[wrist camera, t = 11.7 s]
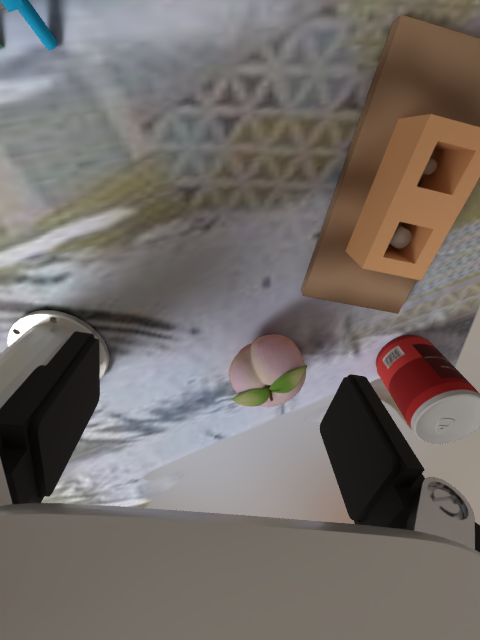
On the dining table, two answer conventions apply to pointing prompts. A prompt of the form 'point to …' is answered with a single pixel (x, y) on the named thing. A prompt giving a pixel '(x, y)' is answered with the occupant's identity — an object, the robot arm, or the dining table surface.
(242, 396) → the decorative fruit
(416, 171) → the block with square holes
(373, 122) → the locating board
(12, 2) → the gear
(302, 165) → the dining table surface
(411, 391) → the canned food
